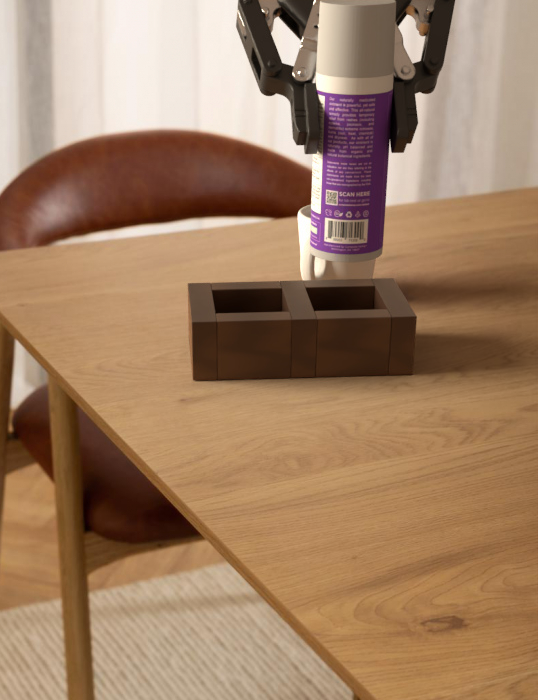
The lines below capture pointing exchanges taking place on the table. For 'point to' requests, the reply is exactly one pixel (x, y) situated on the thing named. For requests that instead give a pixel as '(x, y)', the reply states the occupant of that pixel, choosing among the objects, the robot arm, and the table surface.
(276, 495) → the table surface
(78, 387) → the table surface
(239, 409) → the table surface
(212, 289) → the holder
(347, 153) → the container
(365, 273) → the cup
